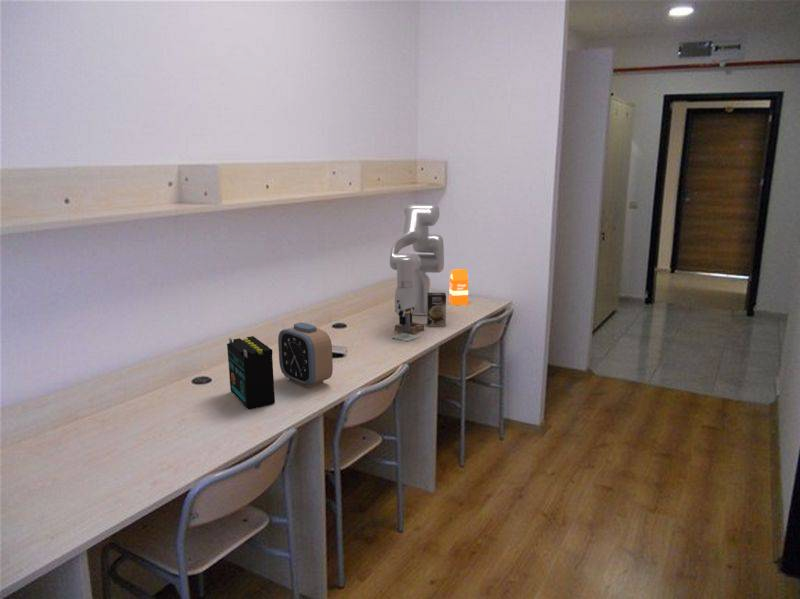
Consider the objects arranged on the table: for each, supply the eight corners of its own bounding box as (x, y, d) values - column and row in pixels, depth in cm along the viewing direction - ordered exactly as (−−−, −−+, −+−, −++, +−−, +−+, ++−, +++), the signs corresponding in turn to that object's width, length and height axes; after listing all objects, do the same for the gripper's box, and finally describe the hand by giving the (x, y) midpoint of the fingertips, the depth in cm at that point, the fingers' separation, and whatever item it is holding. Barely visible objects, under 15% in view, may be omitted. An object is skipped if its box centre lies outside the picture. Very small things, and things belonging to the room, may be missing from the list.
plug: (405, 329, 284) (405, 308, 282) (412, 330, 281) (412, 309, 279) (399, 331, 281) (399, 310, 278) (406, 332, 278) (406, 311, 276)
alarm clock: (279, 378, 231) (276, 323, 226) (300, 372, 238) (297, 318, 233) (312, 392, 217) (309, 333, 212) (333, 385, 223) (331, 328, 219)
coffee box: (427, 327, 299) (427, 295, 295) (426, 323, 305) (426, 292, 302) (446, 327, 299) (446, 294, 296) (444, 323, 306) (444, 291, 302)
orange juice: (449, 303, 349) (449, 268, 344) (464, 302, 350) (464, 267, 346) (452, 306, 341) (453, 270, 337) (468, 305, 343) (468, 270, 338)
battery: (230, 391, 218) (226, 338, 214) (256, 386, 223) (253, 333, 219) (247, 410, 202) (243, 352, 198) (275, 403, 207) (272, 347, 203)
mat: (404, 334, 288) (404, 332, 288) (419, 337, 282) (419, 336, 282) (392, 338, 281) (392, 337, 281) (407, 341, 276) (407, 340, 275)
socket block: (408, 327, 300) (407, 321, 299) (424, 330, 294) (424, 324, 293) (394, 331, 292) (394, 325, 292) (411, 335, 286) (411, 328, 285)
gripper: (410, 280, 285) (410, 318, 289) (387, 286, 272) (387, 325, 276) (423, 282, 280) (423, 321, 284) (399, 288, 267) (400, 328, 271)
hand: (405, 323), depth 280 cm, fingers closed on plug, 4 cm apart
